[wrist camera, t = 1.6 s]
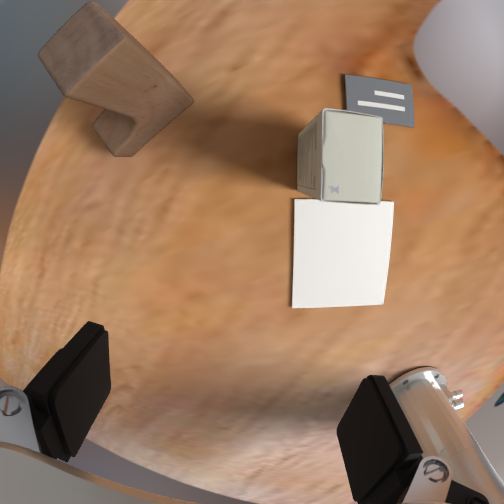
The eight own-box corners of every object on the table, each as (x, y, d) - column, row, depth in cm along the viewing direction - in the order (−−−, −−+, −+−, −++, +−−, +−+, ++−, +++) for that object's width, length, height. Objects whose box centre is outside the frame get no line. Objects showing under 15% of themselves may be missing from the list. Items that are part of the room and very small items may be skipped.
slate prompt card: (410, 85, 27) (412, 85, 27) (412, 127, 28) (414, 127, 28) (344, 75, 27) (345, 74, 27) (346, 119, 28) (347, 119, 28)
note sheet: (392, 201, 31) (393, 201, 30) (382, 303, 34) (383, 304, 34) (294, 198, 31) (294, 199, 31) (291, 307, 34) (292, 308, 34)
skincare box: (337, 193, 31) (382, 211, 19) (295, 191, 31) (319, 207, 19) (339, 132, 29) (385, 115, 17) (297, 129, 29) (322, 106, 17)
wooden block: (131, 158, 30) (16, 160, 13) (109, 129, 29) (-9, 112, 12) (195, 102, 28) (127, 36, 11) (171, 73, 27) (89, -4, 10)
